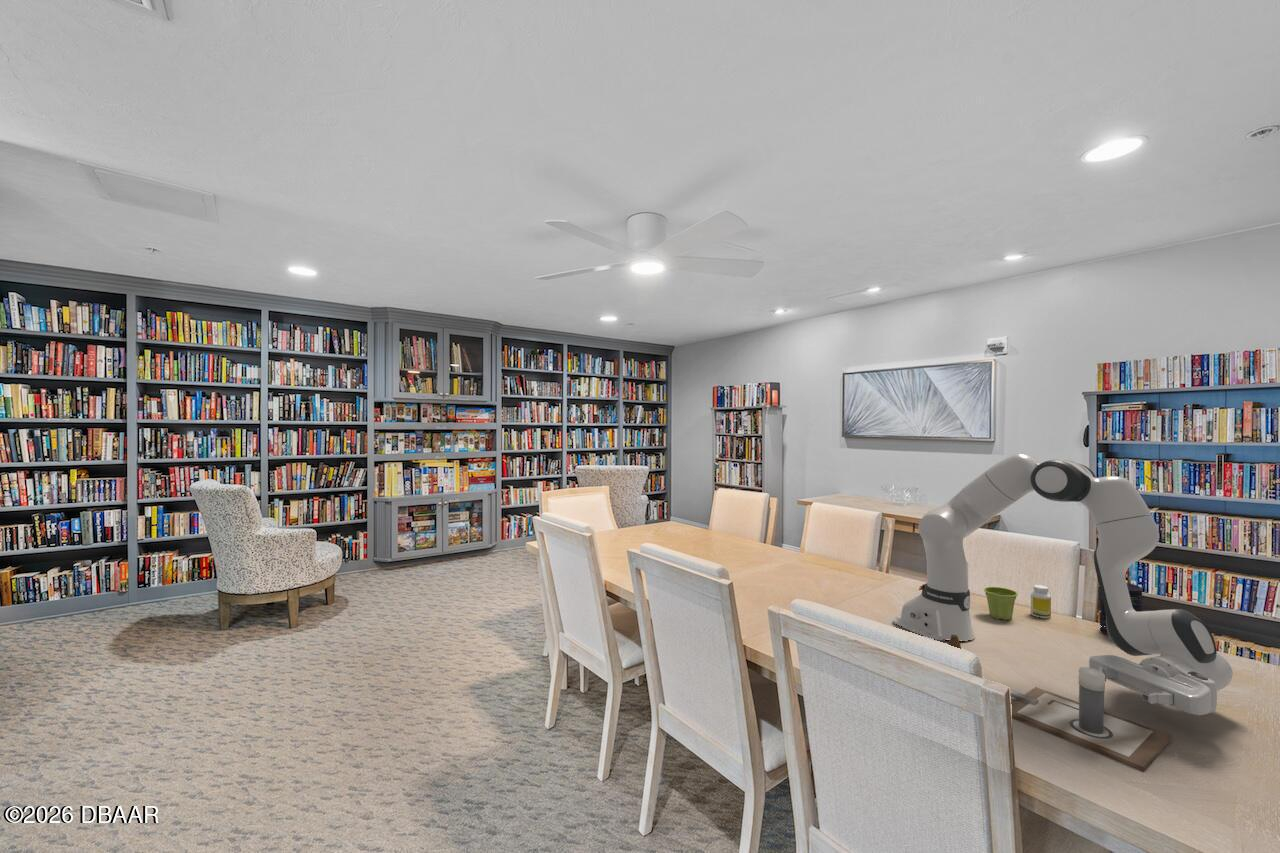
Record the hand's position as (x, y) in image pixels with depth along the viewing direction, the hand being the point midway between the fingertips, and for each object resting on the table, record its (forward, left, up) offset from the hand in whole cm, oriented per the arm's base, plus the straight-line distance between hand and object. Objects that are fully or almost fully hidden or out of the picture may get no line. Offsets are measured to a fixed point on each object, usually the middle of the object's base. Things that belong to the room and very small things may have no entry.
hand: (1120, 687), depth 115 cm
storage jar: (-17, +63, -9) cm, 66 cm away
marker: (-3, -8, -7) cm, 11 cm away
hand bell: (-25, -19, -9) cm, 32 cm away
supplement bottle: (-37, +61, -9) cm, 71 cm away
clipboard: (-5, -6, -8) cm, 12 cm away
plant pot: (-44, +49, -9) cm, 66 cm away
